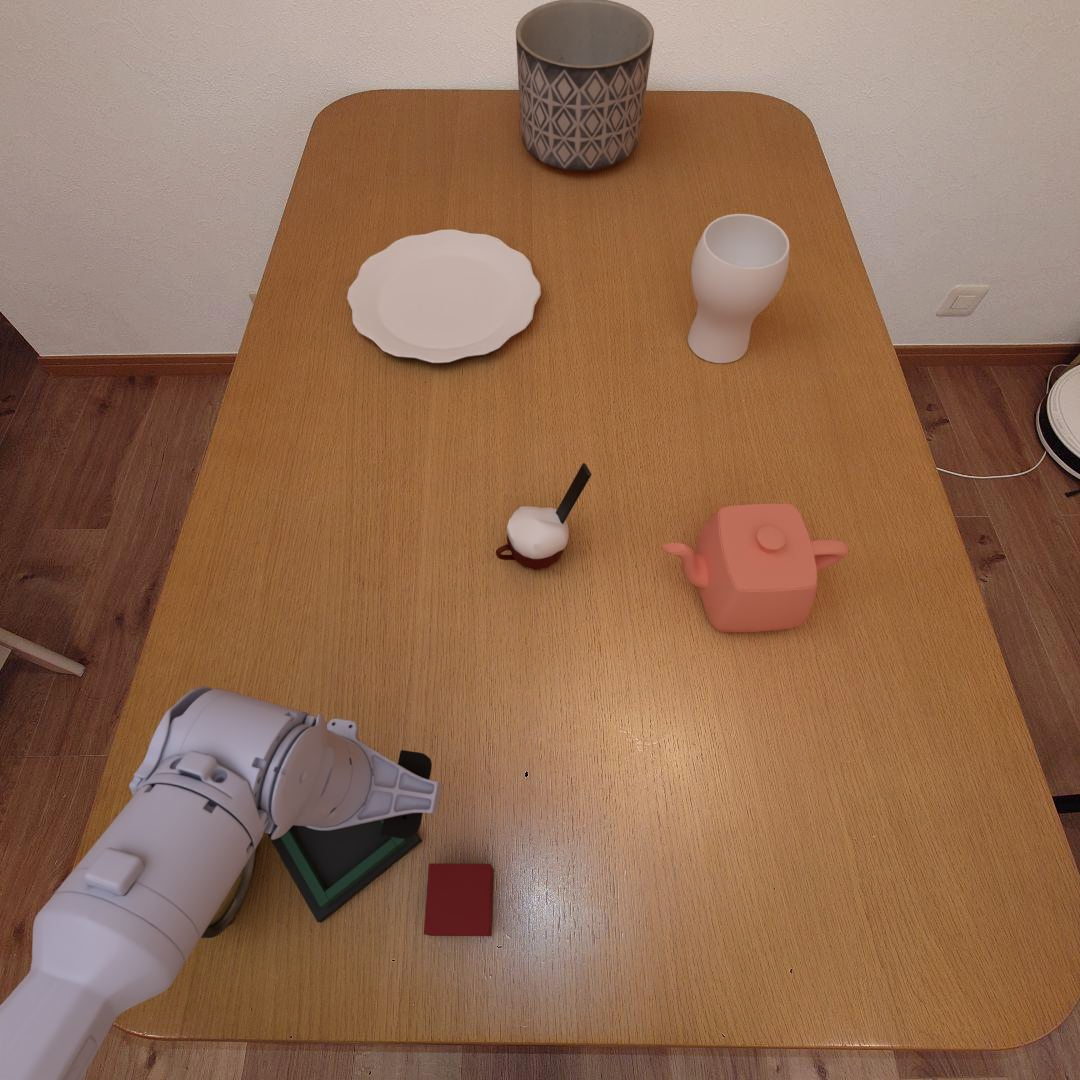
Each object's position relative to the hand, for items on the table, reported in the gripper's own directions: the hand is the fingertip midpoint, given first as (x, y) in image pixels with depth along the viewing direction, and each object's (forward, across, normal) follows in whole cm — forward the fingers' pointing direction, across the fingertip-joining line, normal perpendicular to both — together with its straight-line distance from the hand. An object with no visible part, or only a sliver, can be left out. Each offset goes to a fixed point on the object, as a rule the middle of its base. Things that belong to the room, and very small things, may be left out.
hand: (365, 789), depth 56 cm
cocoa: (+13, -10, -26) cm, 31 cm away
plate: (+17, +9, -62) cm, 65 cm away
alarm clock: (+8, +12, +8) cm, 16 cm away
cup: (+18, -27, -60) cm, 68 cm away
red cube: (+8, -8, +7) cm, 13 cm away
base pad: (+8, +3, +4) cm, 10 cm away
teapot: (+13, -30, -25) cm, 41 cm away
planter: (+22, -4, -100) cm, 102 cm away
